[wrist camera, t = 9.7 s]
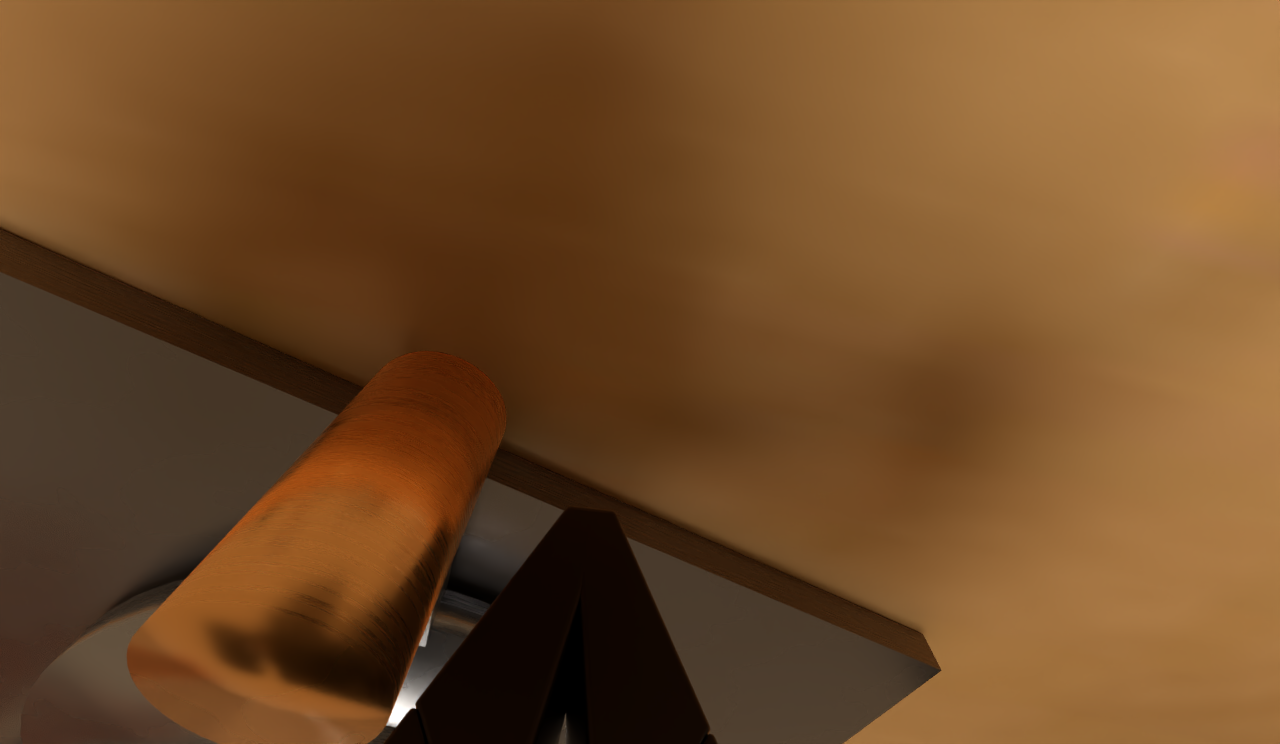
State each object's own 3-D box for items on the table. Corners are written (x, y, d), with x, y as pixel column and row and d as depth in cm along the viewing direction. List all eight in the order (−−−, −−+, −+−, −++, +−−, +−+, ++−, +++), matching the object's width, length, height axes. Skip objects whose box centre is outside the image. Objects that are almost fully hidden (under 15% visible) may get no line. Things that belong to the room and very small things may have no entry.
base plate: (923, 634, 14) (941, 670, 13) (563, 920, 23) (560, 952, 22) (-26, 217, 9) (-96, 231, 8) (-18, 787, 18) (-51, 822, 17)
